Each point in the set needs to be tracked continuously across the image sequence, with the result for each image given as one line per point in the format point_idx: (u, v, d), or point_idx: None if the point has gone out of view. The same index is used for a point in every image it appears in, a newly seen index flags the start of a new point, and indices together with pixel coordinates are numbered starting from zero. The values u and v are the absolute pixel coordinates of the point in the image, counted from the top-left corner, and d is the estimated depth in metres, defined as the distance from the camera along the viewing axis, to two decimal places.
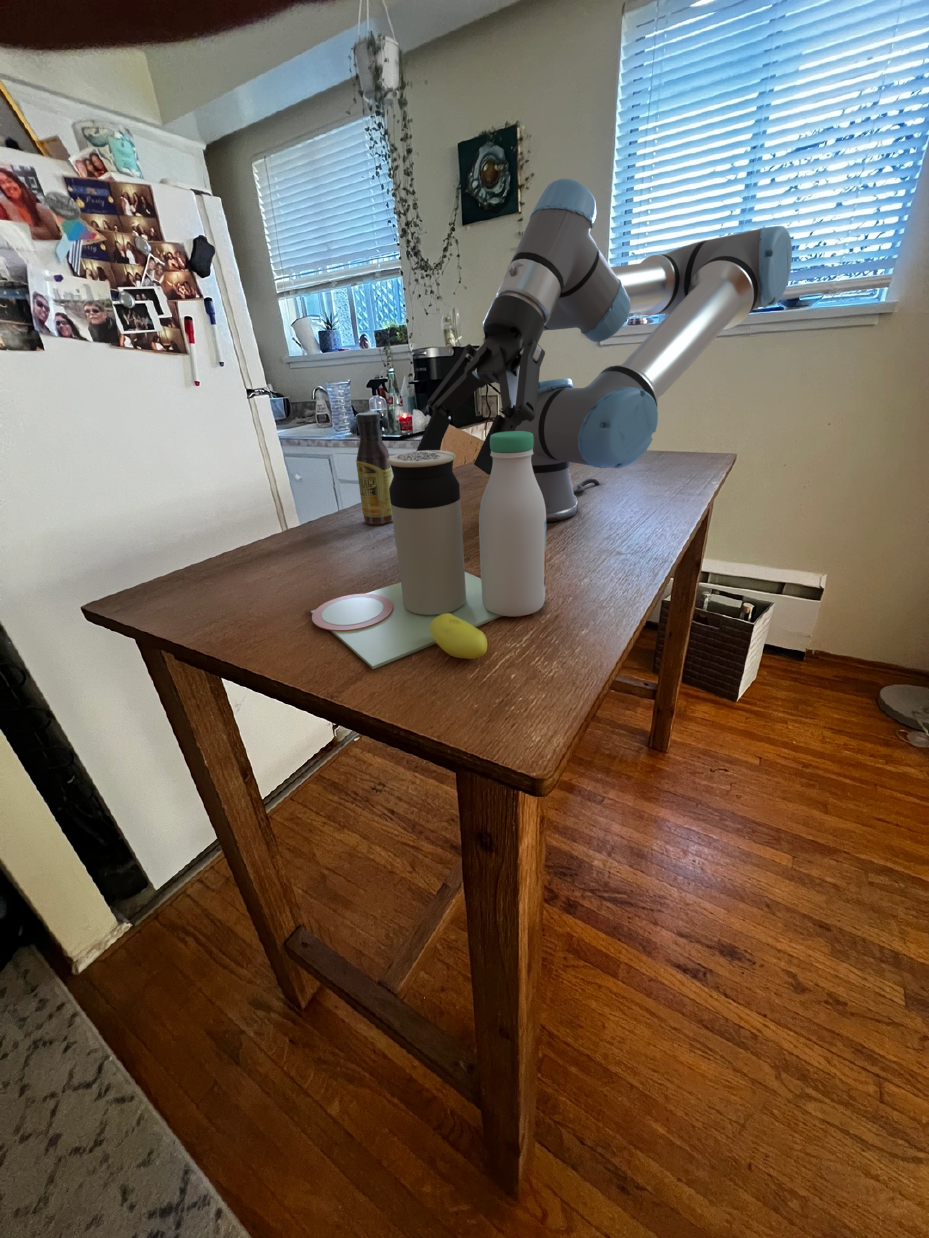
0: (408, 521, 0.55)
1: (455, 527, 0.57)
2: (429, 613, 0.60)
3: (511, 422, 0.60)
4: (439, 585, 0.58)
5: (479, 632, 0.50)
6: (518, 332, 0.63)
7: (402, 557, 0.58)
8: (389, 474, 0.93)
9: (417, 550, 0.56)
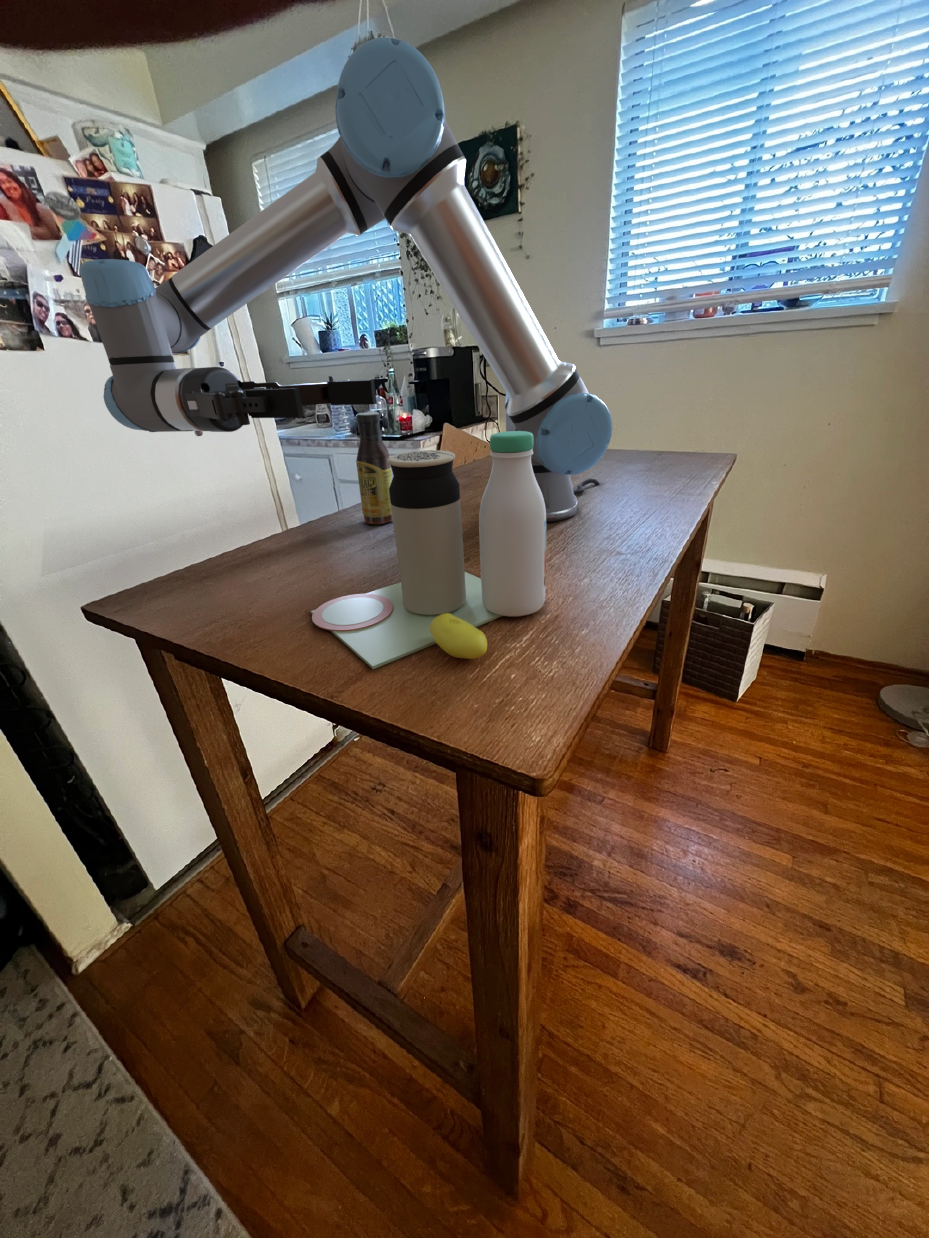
0: (408, 520, 0.55)
1: (455, 527, 0.57)
2: (429, 613, 0.60)
3: (242, 408, 0.52)
4: (439, 585, 0.58)
5: (479, 632, 0.50)
6: None
7: (402, 557, 0.58)
8: (389, 474, 0.93)
9: (417, 550, 0.56)
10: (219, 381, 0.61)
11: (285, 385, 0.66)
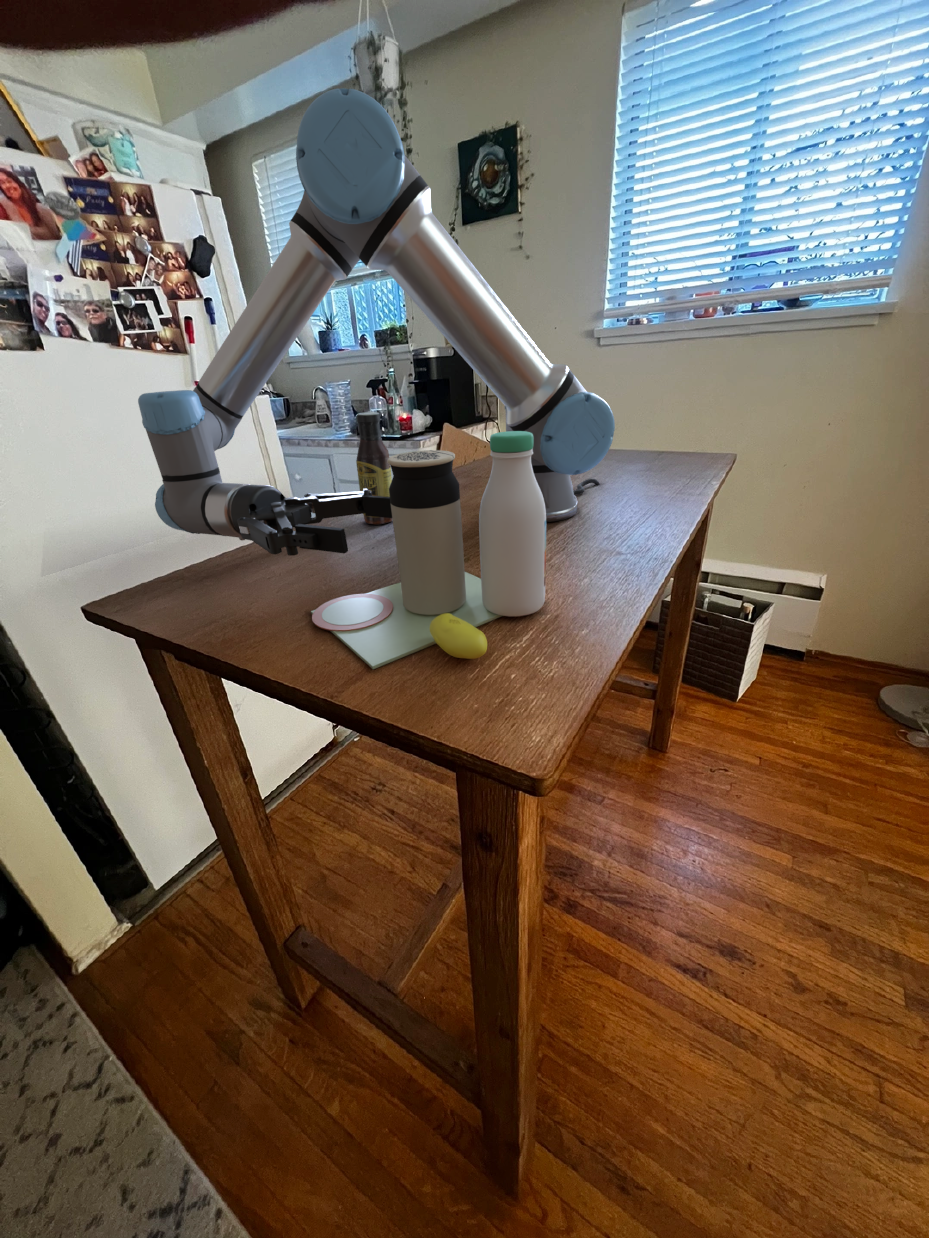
0: (408, 520, 0.55)
1: (455, 527, 0.57)
2: (429, 613, 0.60)
3: (292, 542, 0.58)
4: (439, 585, 0.58)
5: (479, 632, 0.50)
6: None
7: (402, 557, 0.58)
8: (389, 474, 0.93)
9: (417, 550, 0.56)
10: (264, 499, 0.67)
11: (322, 495, 0.71)
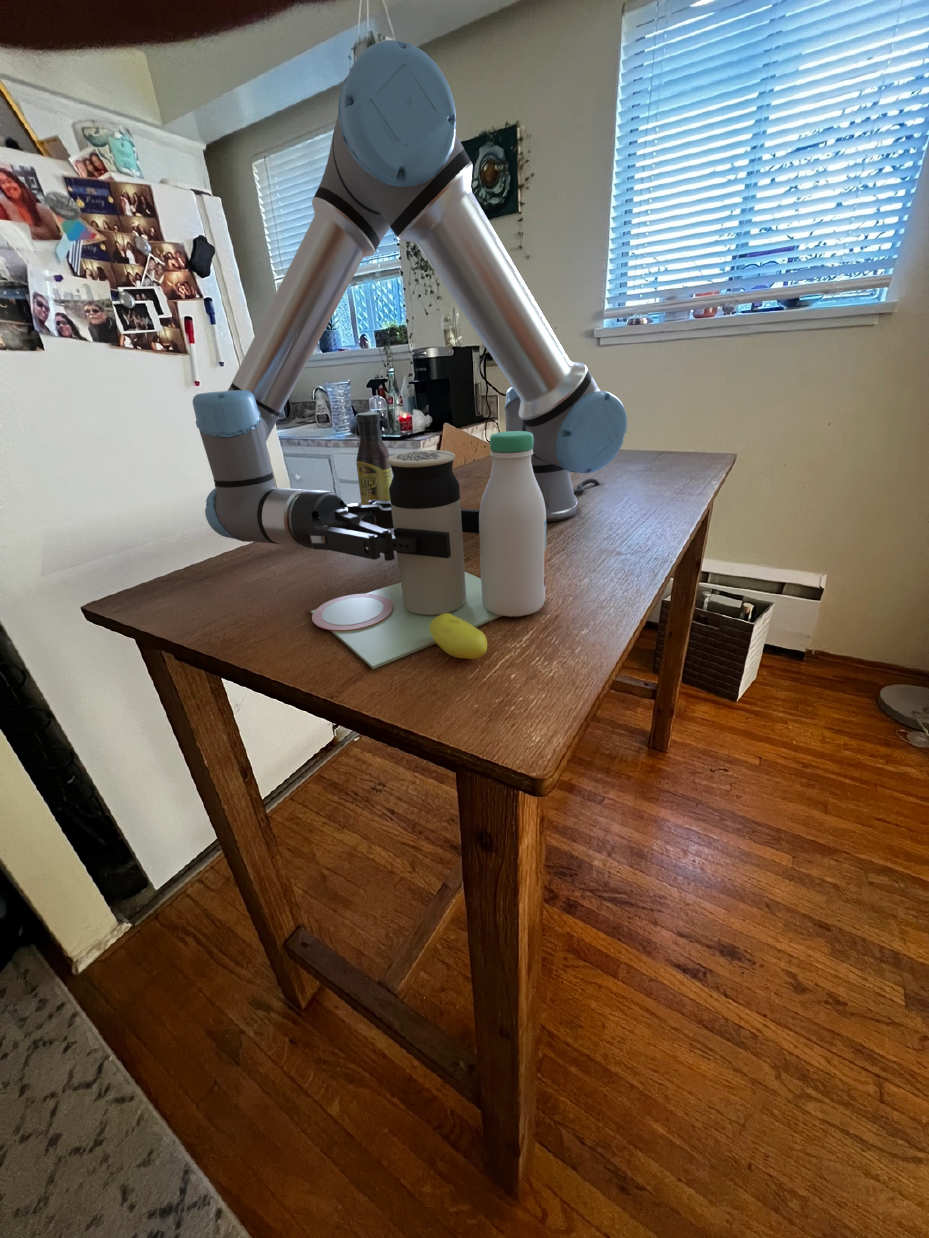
0: (408, 520, 0.55)
1: (455, 527, 0.57)
2: (429, 613, 0.60)
3: (391, 547, 0.55)
4: (439, 585, 0.58)
5: (479, 632, 0.50)
6: None
7: (402, 557, 0.58)
8: (389, 474, 0.93)
9: None
10: (326, 505, 0.63)
11: (386, 503, 0.66)
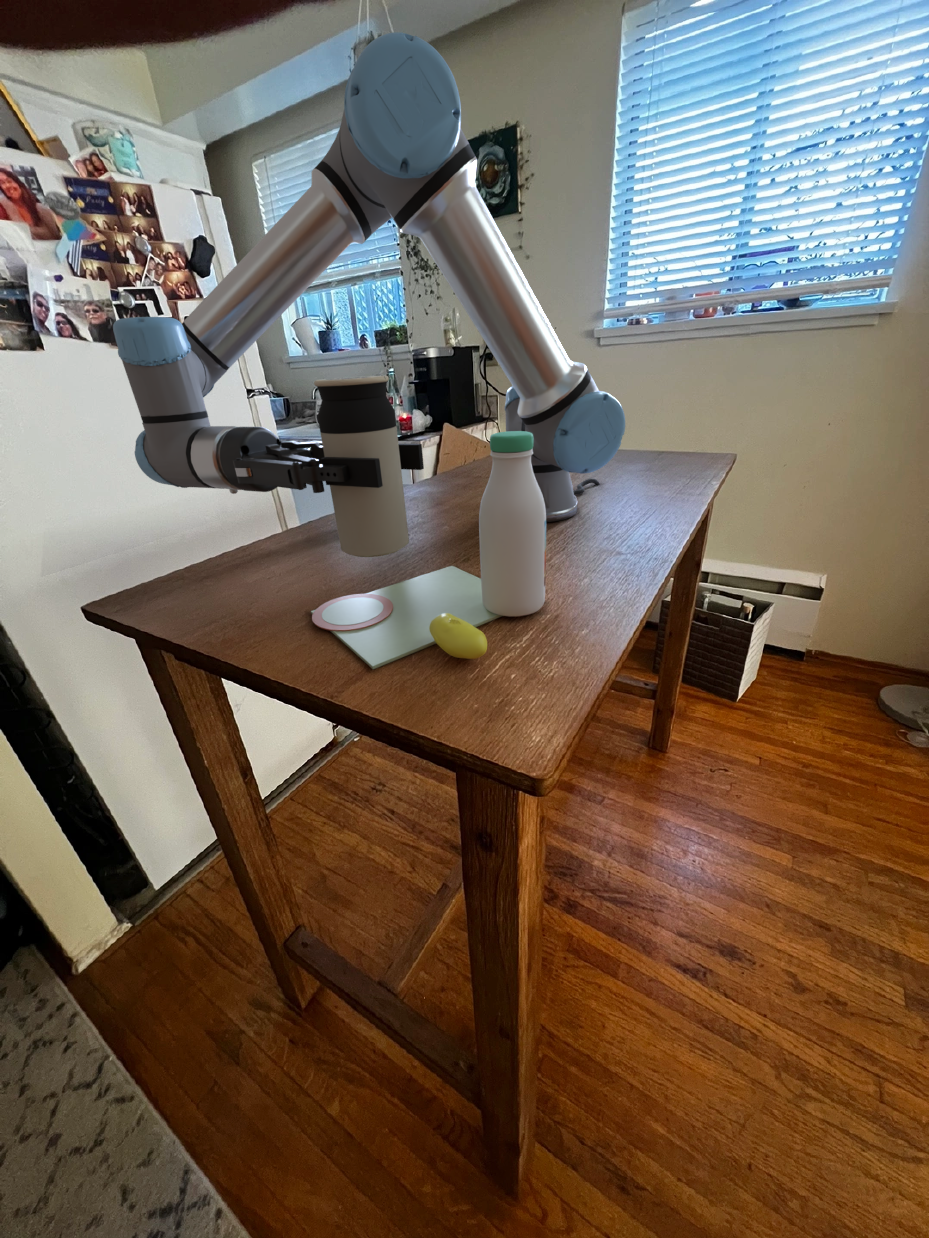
0: (337, 448, 0.51)
1: (390, 457, 0.52)
2: (365, 554, 0.55)
3: (319, 477, 0.51)
4: (375, 522, 0.54)
5: (479, 632, 0.50)
6: None
7: (334, 491, 0.54)
8: None
9: None
10: (258, 442, 0.59)
11: None
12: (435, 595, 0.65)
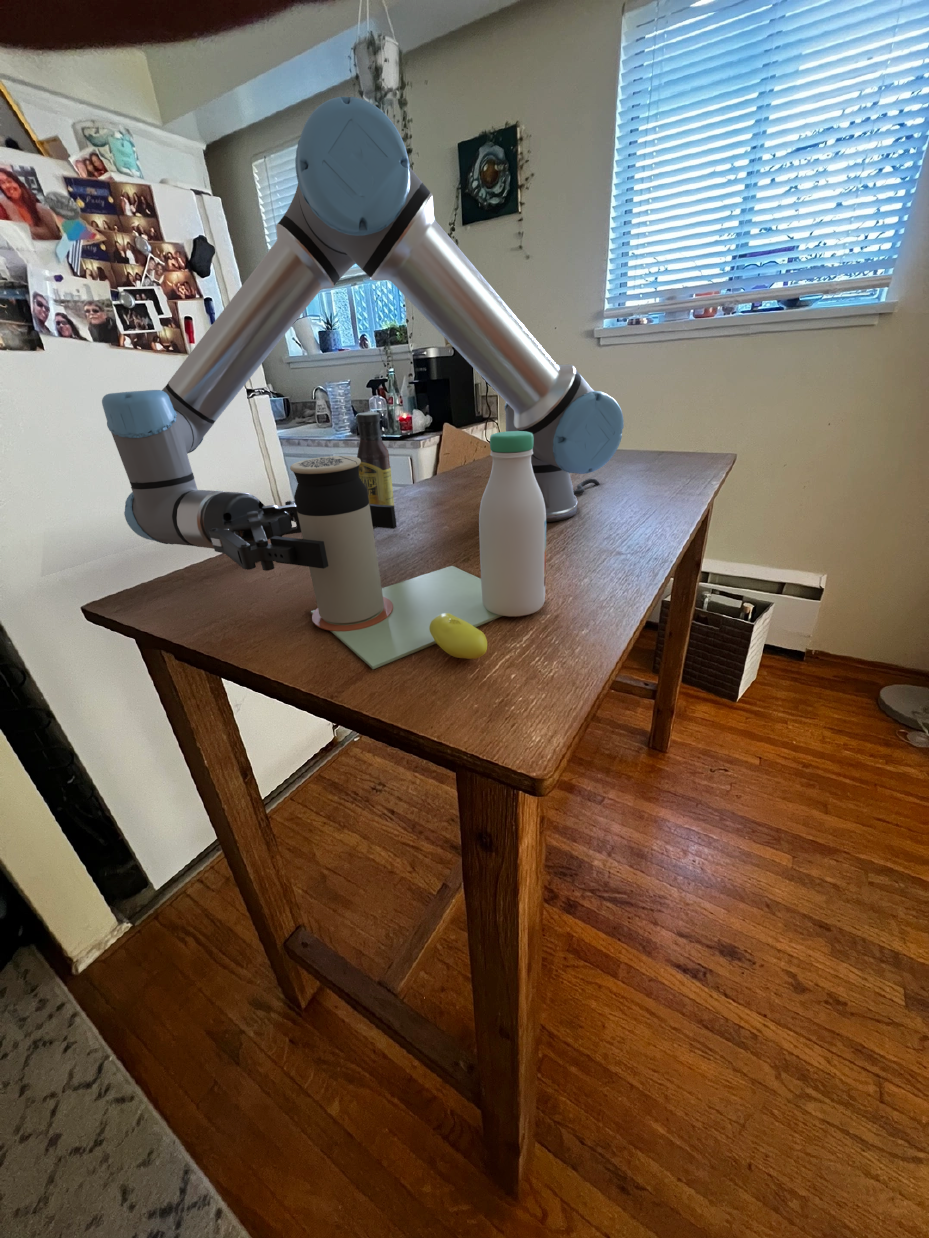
0: (312, 528, 0.54)
1: (362, 534, 0.56)
2: (341, 621, 0.59)
3: (267, 556, 0.52)
4: (349, 593, 0.57)
5: (479, 632, 0.50)
6: None
7: None
8: (389, 474, 0.93)
9: None
10: (240, 507, 0.62)
11: None
12: (435, 595, 0.65)
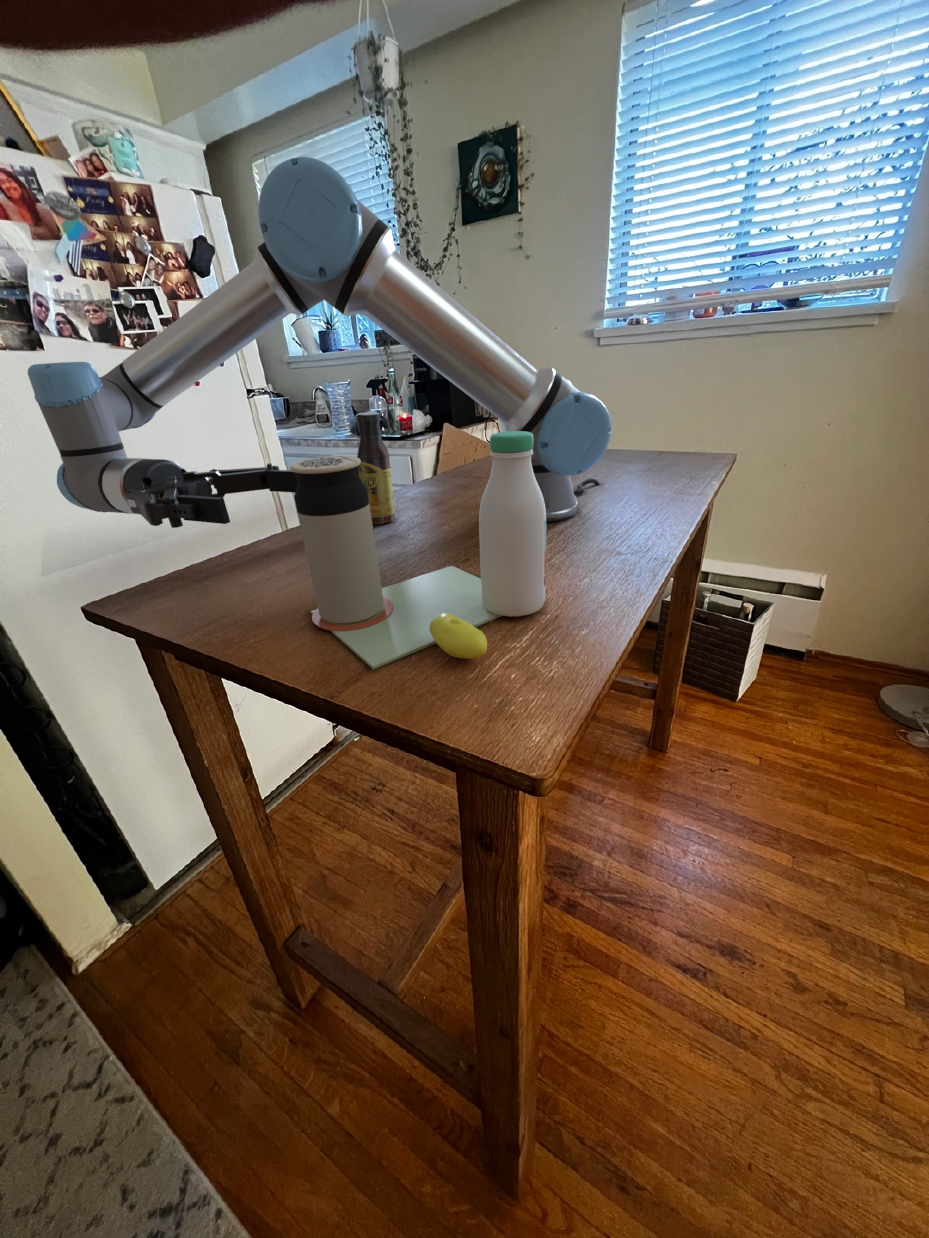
0: (312, 528, 0.54)
1: (362, 534, 0.56)
2: (341, 621, 0.59)
3: (173, 513, 0.56)
4: (349, 593, 0.57)
5: (479, 632, 0.50)
6: None
7: (310, 564, 0.57)
8: (389, 474, 0.93)
9: (323, 558, 0.55)
10: (161, 473, 0.65)
11: (227, 471, 0.69)
12: (435, 595, 0.65)
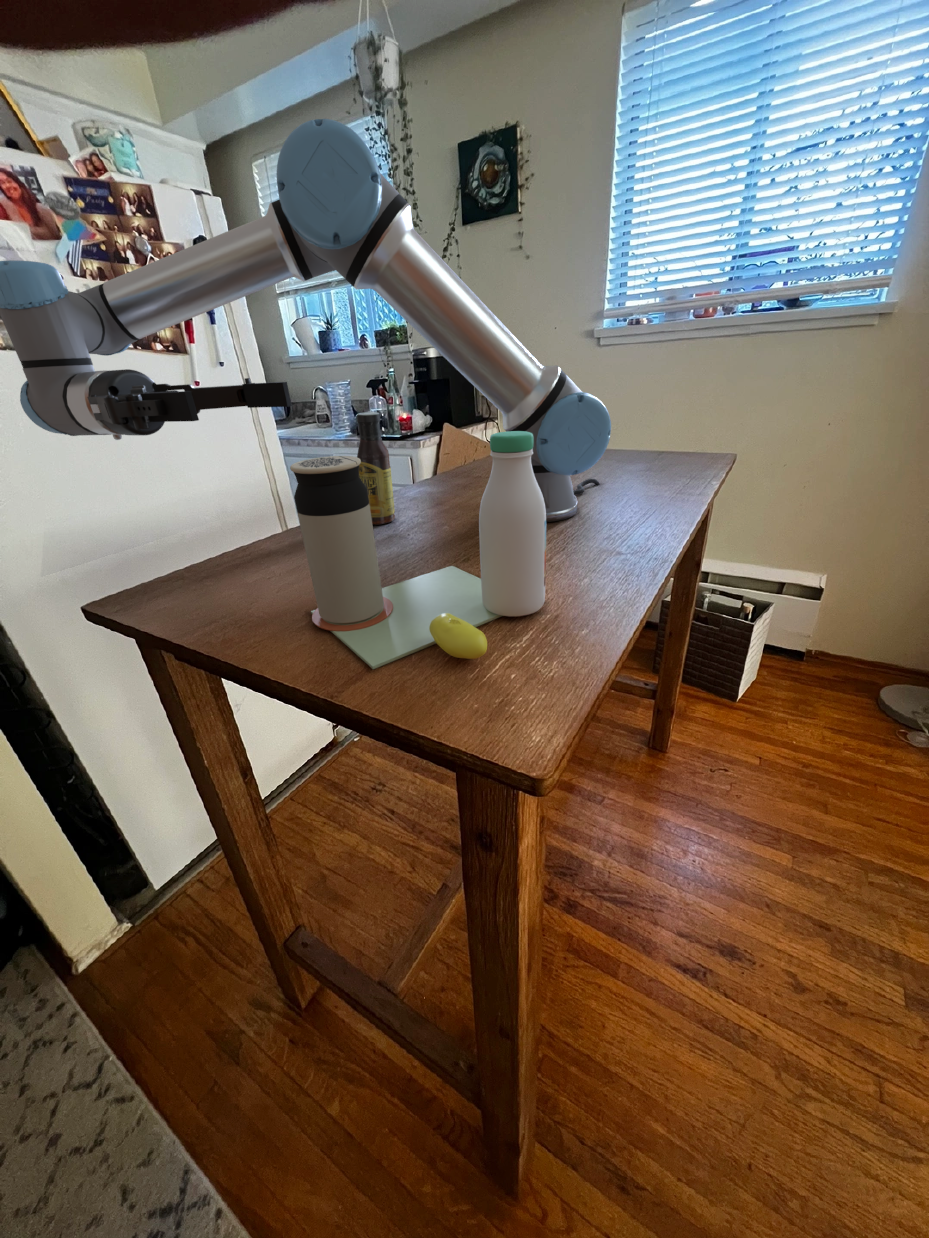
0: (312, 528, 0.54)
1: (362, 534, 0.56)
2: (341, 621, 0.59)
3: (137, 412, 0.51)
4: (349, 593, 0.57)
5: (479, 632, 0.50)
6: None
7: (310, 564, 0.57)
8: (389, 474, 0.93)
9: (323, 558, 0.55)
10: (130, 384, 0.60)
11: (203, 387, 0.65)
12: (435, 595, 0.65)
